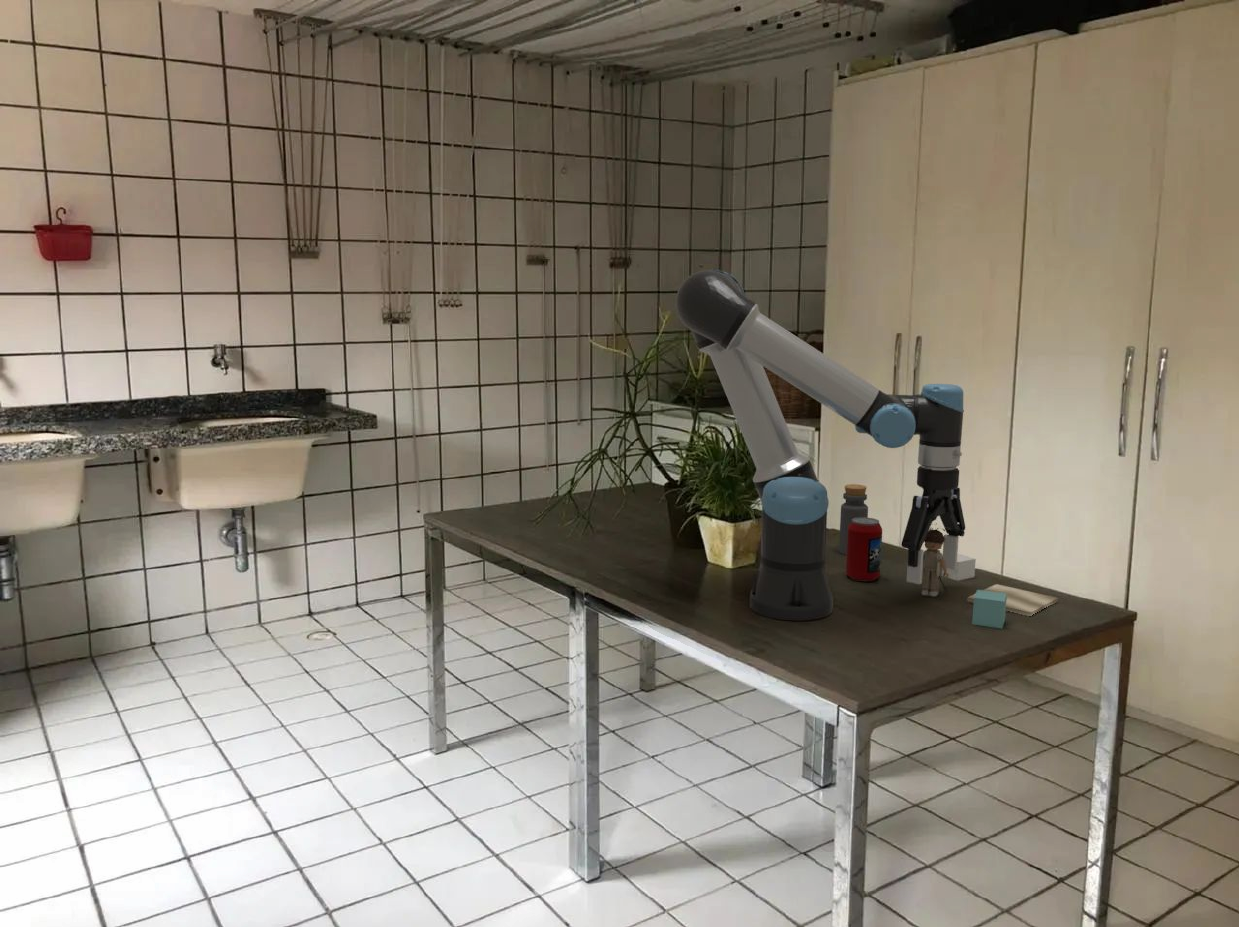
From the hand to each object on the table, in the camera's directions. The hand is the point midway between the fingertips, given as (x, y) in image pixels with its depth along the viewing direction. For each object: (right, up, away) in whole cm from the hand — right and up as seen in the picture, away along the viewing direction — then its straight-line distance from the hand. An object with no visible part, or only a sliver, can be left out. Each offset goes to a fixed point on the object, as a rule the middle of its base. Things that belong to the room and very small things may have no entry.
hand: (932, 575), depth 192 cm
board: (+14, -5, -4) cm, 15 cm away
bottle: (-8, +2, +30) cm, 31 cm away
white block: (+9, -2, +12) cm, 16 cm away
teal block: (+6, -7, -15) cm, 17 cm away
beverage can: (-11, -2, +11) cm, 16 cm away
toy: (0, -4, +1) cm, 4 cm away
